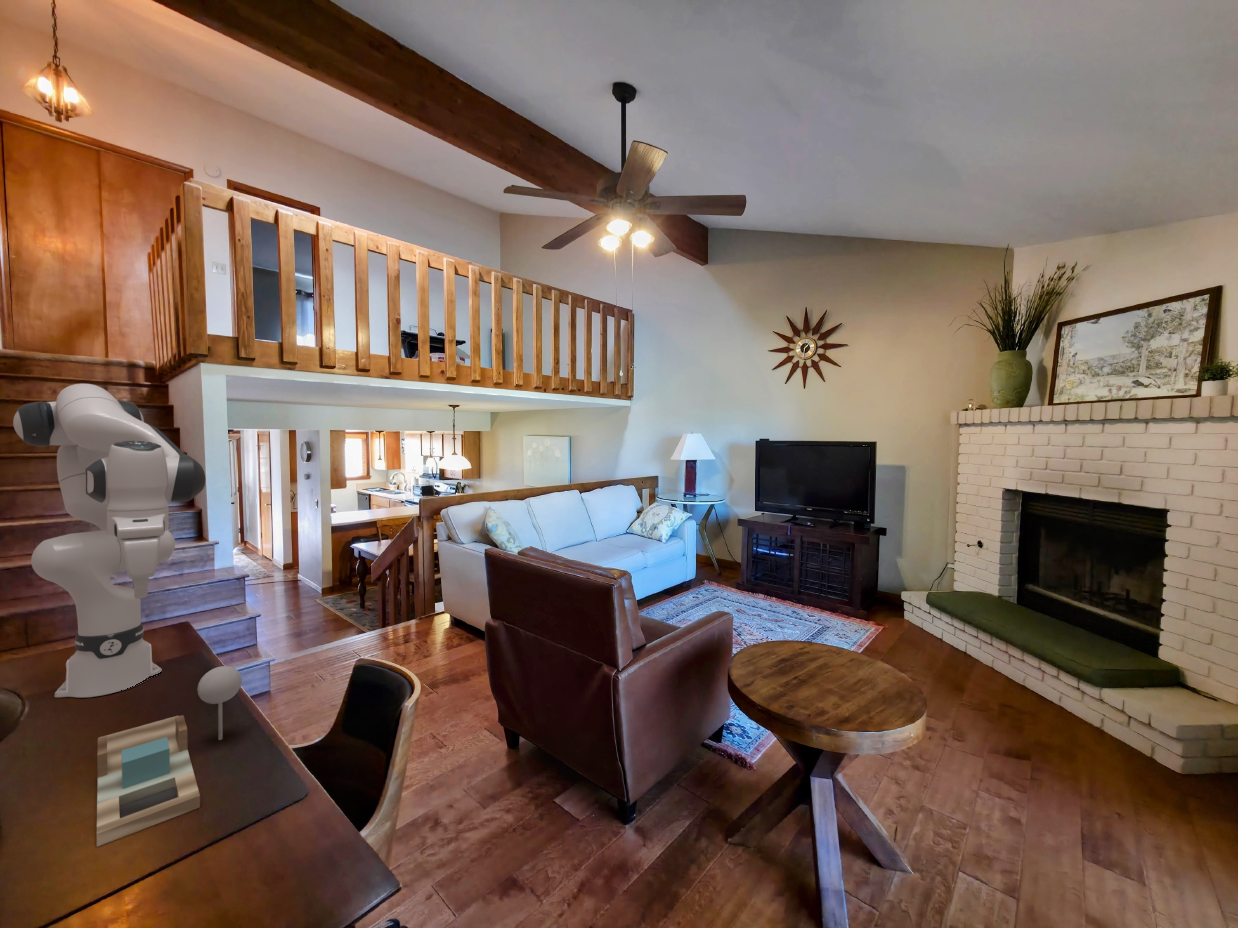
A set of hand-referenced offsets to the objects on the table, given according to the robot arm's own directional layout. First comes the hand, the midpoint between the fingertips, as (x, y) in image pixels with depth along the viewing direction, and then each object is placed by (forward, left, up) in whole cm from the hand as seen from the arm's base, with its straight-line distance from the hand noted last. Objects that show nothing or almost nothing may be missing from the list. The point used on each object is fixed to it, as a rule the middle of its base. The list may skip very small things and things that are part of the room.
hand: (139, 592), depth 100 cm
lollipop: (+8, +11, -31) cm, 34 cm away
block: (+16, 0, -29) cm, 33 cm away
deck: (+12, 0, -31) cm, 33 cm away
